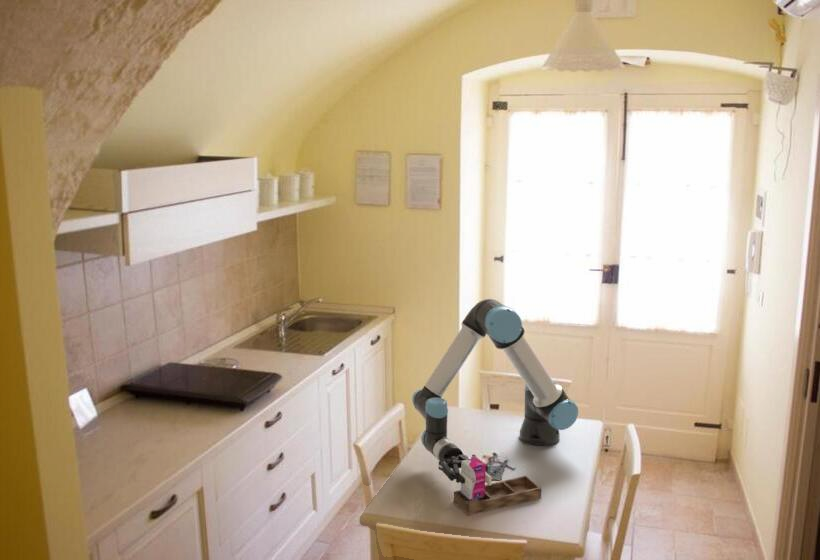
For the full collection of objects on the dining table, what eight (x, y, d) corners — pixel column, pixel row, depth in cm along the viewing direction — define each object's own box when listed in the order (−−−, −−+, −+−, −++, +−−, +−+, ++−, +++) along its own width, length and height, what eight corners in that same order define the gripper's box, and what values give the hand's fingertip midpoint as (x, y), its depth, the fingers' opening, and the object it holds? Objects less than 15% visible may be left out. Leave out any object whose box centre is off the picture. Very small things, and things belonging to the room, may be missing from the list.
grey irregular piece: (501, 483, 262) (501, 477, 261) (481, 481, 264) (481, 475, 263) (511, 458, 281) (511, 453, 281) (493, 456, 283) (493, 451, 283)
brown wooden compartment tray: (525, 485, 259) (525, 475, 258) (541, 498, 250) (541, 488, 249) (453, 501, 249) (453, 491, 248) (467, 515, 240) (467, 505, 239)
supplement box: (469, 501, 241) (470, 467, 239) (460, 493, 247) (460, 460, 244) (485, 497, 244) (486, 463, 242) (475, 489, 249) (475, 456, 247)
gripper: (473, 459, 264) (507, 488, 244) (422, 469, 257) (453, 500, 236) (473, 438, 263) (507, 466, 242) (422, 448, 256) (453, 477, 235)
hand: (480, 483), depth 239 cm, fingers closed on supplement box, 6 cm apart
